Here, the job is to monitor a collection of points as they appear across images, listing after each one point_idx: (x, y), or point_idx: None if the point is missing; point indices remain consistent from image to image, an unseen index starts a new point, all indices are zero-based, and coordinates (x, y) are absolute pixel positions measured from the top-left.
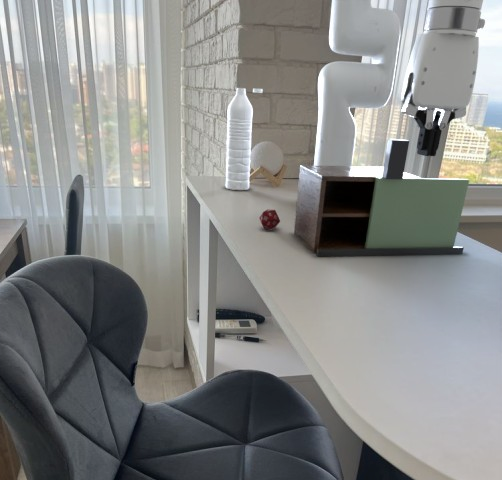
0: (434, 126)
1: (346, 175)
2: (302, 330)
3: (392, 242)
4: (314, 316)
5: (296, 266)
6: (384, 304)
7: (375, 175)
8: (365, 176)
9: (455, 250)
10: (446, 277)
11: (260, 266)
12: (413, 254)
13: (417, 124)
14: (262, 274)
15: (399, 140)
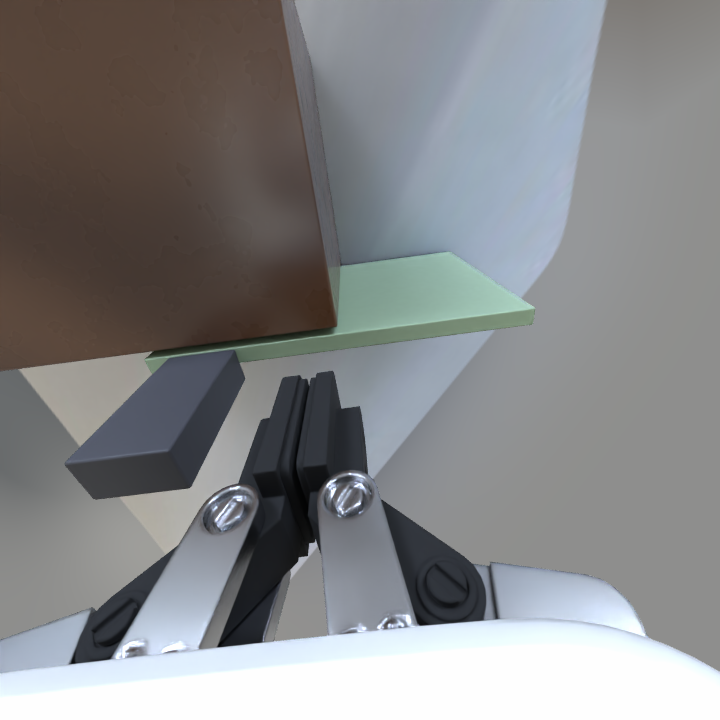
0: (318, 545)
1: (21, 346)
2: (148, 527)
3: None
4: (156, 506)
5: (100, 369)
6: (237, 480)
7: (142, 316)
8: (101, 350)
9: None
10: (357, 398)
11: (35, 374)
12: None
13: (200, 509)
14: (54, 407)
15: (133, 494)
